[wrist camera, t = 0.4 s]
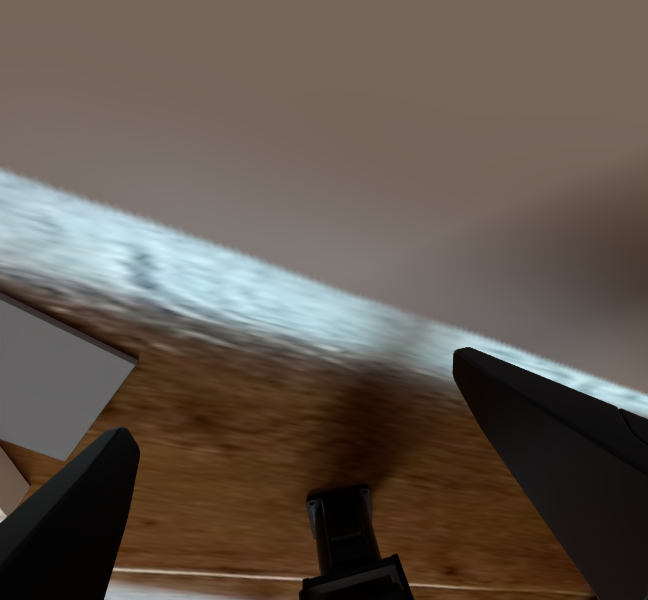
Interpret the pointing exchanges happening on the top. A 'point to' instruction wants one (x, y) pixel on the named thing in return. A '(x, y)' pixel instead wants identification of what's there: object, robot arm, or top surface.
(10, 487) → the ring holder
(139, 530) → the top surface
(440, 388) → the top surface
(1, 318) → the mat
